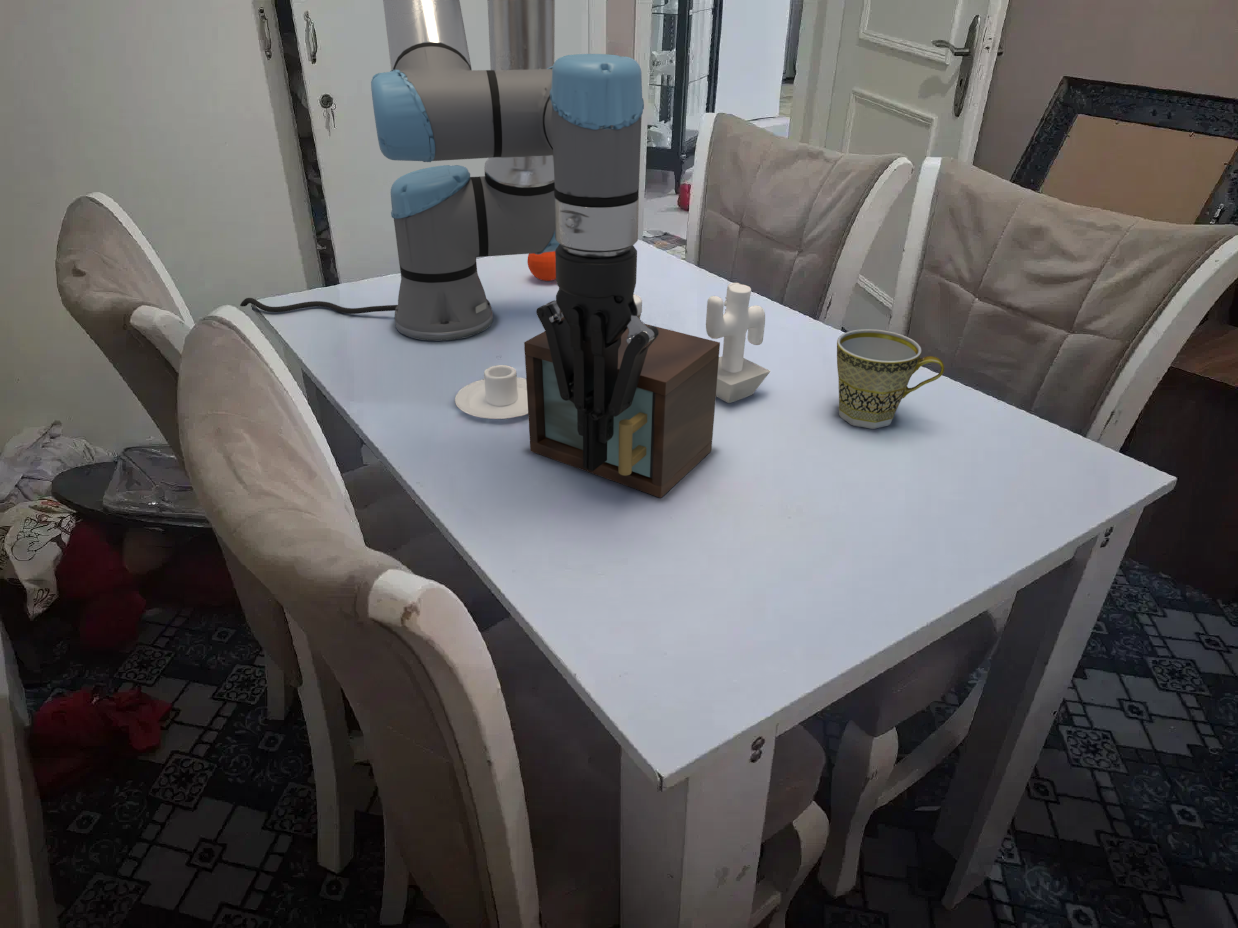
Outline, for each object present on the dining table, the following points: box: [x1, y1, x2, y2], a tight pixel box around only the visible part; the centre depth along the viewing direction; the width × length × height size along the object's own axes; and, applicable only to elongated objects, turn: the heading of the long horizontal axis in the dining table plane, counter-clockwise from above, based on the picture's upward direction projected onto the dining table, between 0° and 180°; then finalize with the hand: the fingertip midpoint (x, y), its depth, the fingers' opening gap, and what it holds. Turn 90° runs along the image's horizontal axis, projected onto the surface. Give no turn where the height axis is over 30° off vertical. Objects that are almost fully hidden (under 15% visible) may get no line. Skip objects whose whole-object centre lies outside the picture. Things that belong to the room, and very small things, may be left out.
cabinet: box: [523, 323, 721, 499], centre depth 93 cm, size 18×12×14 cm, turn 57°
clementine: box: [526, 251, 556, 282], centre depth 147 cm, size 8×7×7 cm
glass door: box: [605, 388, 655, 478], centre depth 87 cm, size 8×5×10 cm, turn 57°
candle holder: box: [454, 364, 528, 420], centre depth 107 cm, size 12×12×4 cm
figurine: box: [705, 282, 771, 404], centre depth 106 cm, size 7×9×15 cm
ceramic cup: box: [836, 328, 945, 430], centre depth 102 cm, size 13×10×10 cm
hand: (595, 463), depth 87 cm, fingers closed
